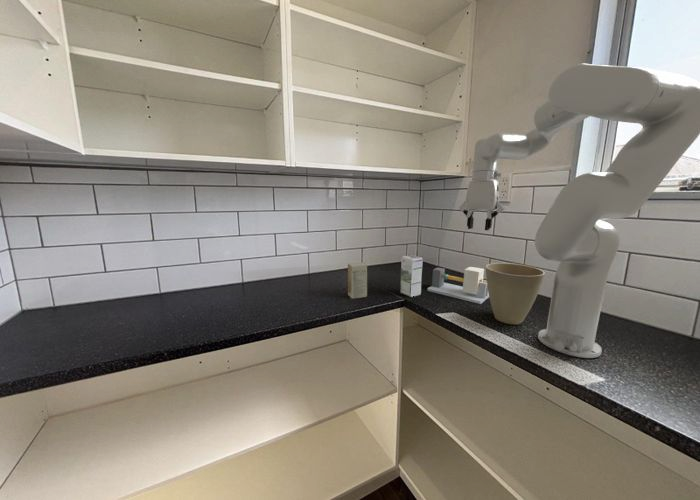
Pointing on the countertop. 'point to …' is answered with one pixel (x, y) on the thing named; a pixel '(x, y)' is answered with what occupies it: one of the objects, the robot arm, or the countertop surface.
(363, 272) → the skincare box
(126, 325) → the countertop surface
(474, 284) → the slotted white cube
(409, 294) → the syrup box
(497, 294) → the plant pot
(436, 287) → the grey rod holder
